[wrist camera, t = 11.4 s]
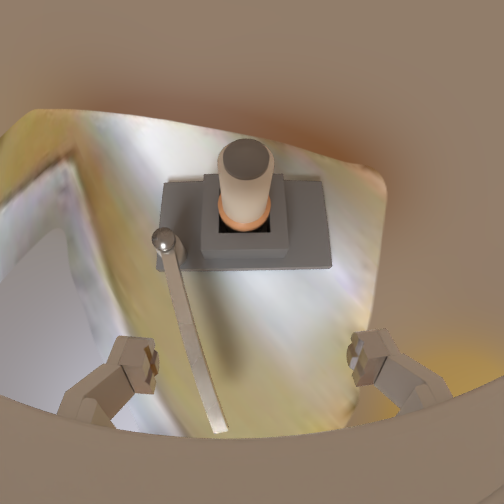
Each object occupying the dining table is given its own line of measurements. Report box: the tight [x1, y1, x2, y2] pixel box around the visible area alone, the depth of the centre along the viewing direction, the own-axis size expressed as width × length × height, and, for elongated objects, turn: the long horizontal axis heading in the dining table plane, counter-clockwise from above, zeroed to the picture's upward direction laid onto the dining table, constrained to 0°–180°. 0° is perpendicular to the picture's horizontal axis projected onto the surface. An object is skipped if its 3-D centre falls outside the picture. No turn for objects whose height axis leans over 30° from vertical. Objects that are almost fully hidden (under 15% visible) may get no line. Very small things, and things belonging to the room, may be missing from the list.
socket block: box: [156, 174, 332, 271], centre depth 29 cm, size 18×10×4 cm, turn 91°
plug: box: [218, 139, 274, 233], centre depth 25 cm, size 5×5×12 cm
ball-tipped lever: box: [152, 227, 229, 434], centre depth 23 cm, size 18×2×2 cm, turn 17°
